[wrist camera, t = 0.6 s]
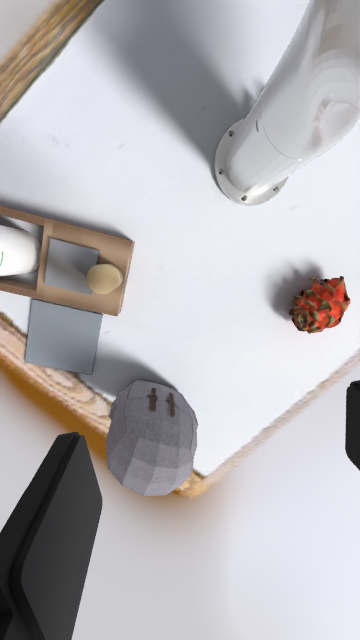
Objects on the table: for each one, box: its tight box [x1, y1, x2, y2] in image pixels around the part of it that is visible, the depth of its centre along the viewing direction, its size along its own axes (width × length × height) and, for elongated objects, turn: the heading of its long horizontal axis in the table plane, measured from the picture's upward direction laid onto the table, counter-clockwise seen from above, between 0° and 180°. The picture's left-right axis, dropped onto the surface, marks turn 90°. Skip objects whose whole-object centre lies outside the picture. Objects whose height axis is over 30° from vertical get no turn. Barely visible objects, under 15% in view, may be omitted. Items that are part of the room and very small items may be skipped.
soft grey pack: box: [106, 380, 198, 495], centre depth 40 cm, size 15×8×20 cm, turn 70°
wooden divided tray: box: [0, 206, 135, 316], centre depth 37 cm, size 12×24×10 cm, turn 76°
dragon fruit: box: [289, 276, 350, 334], centre depth 44 cm, size 8×8×12 cm
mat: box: [25, 299, 103, 375], centre depth 45 cm, size 12×12×1 cm
